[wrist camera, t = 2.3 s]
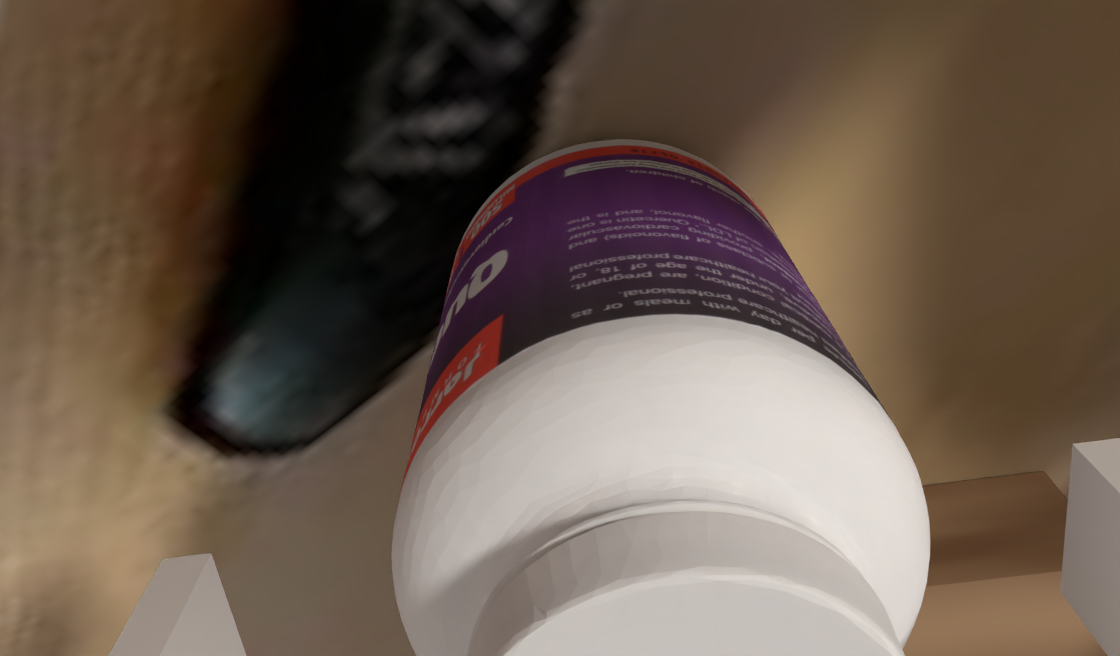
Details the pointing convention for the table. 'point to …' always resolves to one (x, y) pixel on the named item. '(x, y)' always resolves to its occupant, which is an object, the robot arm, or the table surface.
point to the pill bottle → (648, 435)
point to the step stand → (997, 572)
